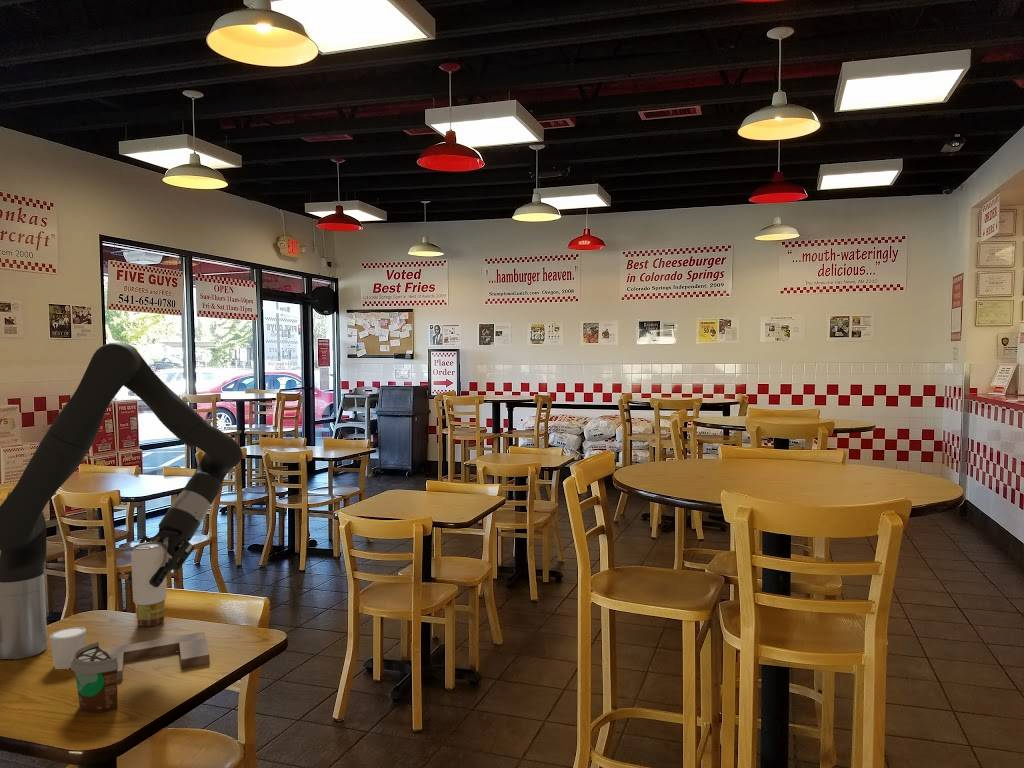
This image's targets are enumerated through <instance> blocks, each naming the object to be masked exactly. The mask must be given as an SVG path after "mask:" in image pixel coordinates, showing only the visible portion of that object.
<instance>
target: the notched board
mask: <svg viewBox="0 0 1024 768" xmlns="http://www.w3.org/2000/svg"><path fill="white" fill-rule="evenodd" d="M207 642H208V641H207V637H206V633H205V631H199V632H193V633H187V634H182V635H177V636H171V637H170V636H169V637H164V638H157V639H152V640H146V641H141V642H135V643H129V644H128V643H127V644H124V645H116V646H111V647H105V648H100V649H101V650H103V651H105V652H107V653H108V655H109V656H110V657H111V658H112V659H113V658H117V661H118V669H117V682H120V681H123V678H124V665H125V662H128V661H133V660H139V658H140V659H145V657H146V658H151V657H155V656H156V655H157V656H161V655H160V654H163V655H166V653H168V654H172V652H174V653H177V652H176V651H179V657H180V658H179V659H180V667H181V669H182V670H183V669H189V668H194V667H199V666H200V667H201V666H206V665H210V662H211V661H210V651H209V645H208V643H207ZM150 656H151V657H150Z"/></svg>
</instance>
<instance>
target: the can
mask: <svg viewBox="0 0 1024 768" xmlns="http://www.w3.org/2000/svg"><path fill="white" fill-rule="evenodd" d="M132 548H133V550H132V552H131V555H130V556H131V557H130V559H131V561H130V562H131V571H132V583H131V585H132V586H131V587H132V601H133V603H134V604H135V606H137V605H139V606H147V605H154V604H158V603H160V602H162V601H164V600H166V599H167V595H168V593H167V576H166V577H165V578H164V580H163V582H162V583H161V584H160V585H159V586H158V587H153V586H152V585H151V584H150V583H149V581H150V580H151V578H152V576H153V575H154V574H155V573H156V572H157V571H158V569H159V568H160V567H161V566H160V565H161V564H162V562H163V559H164V548H163V547H162V543H160V542H147V543H141V544H139V543H138V544H136V545H133V547H132Z"/></svg>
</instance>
